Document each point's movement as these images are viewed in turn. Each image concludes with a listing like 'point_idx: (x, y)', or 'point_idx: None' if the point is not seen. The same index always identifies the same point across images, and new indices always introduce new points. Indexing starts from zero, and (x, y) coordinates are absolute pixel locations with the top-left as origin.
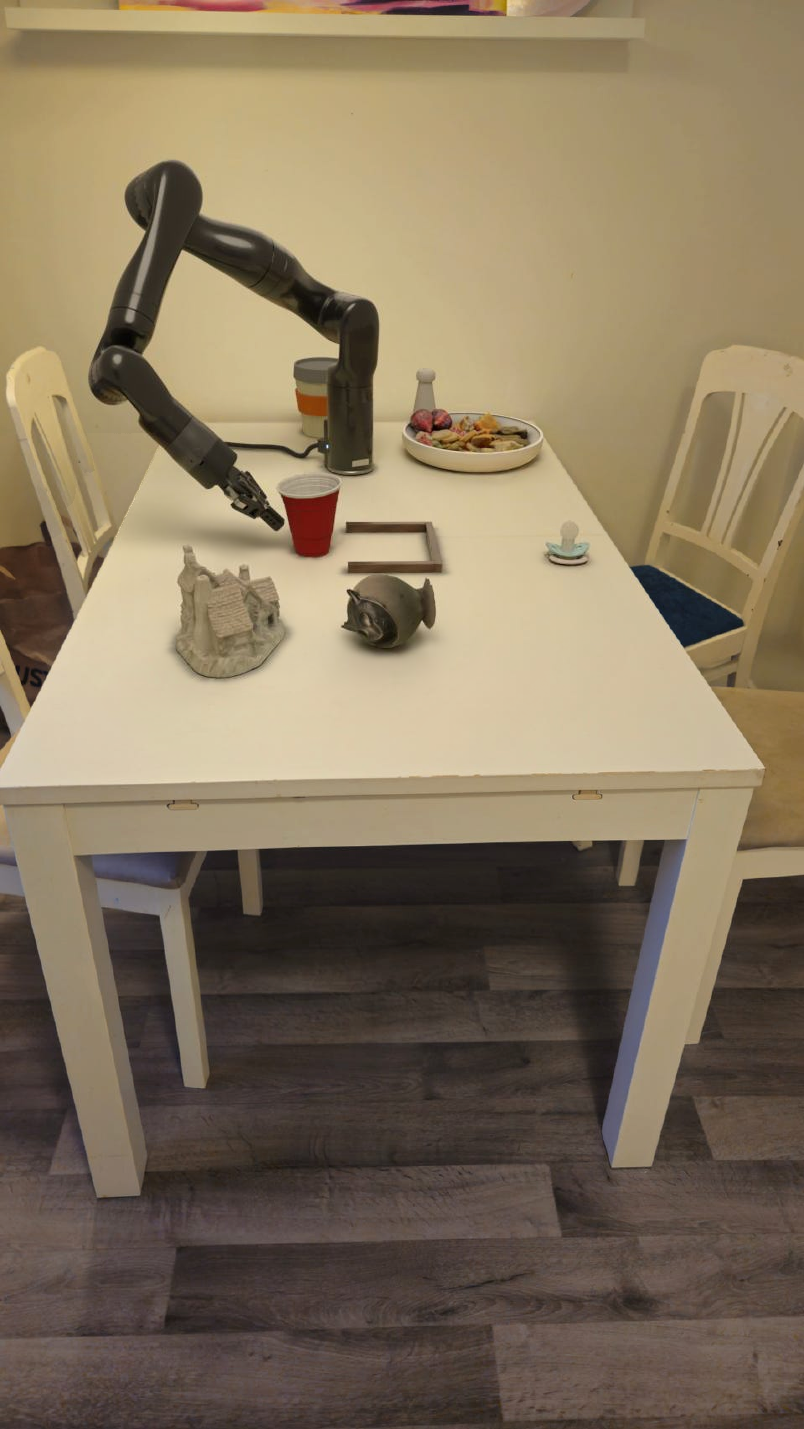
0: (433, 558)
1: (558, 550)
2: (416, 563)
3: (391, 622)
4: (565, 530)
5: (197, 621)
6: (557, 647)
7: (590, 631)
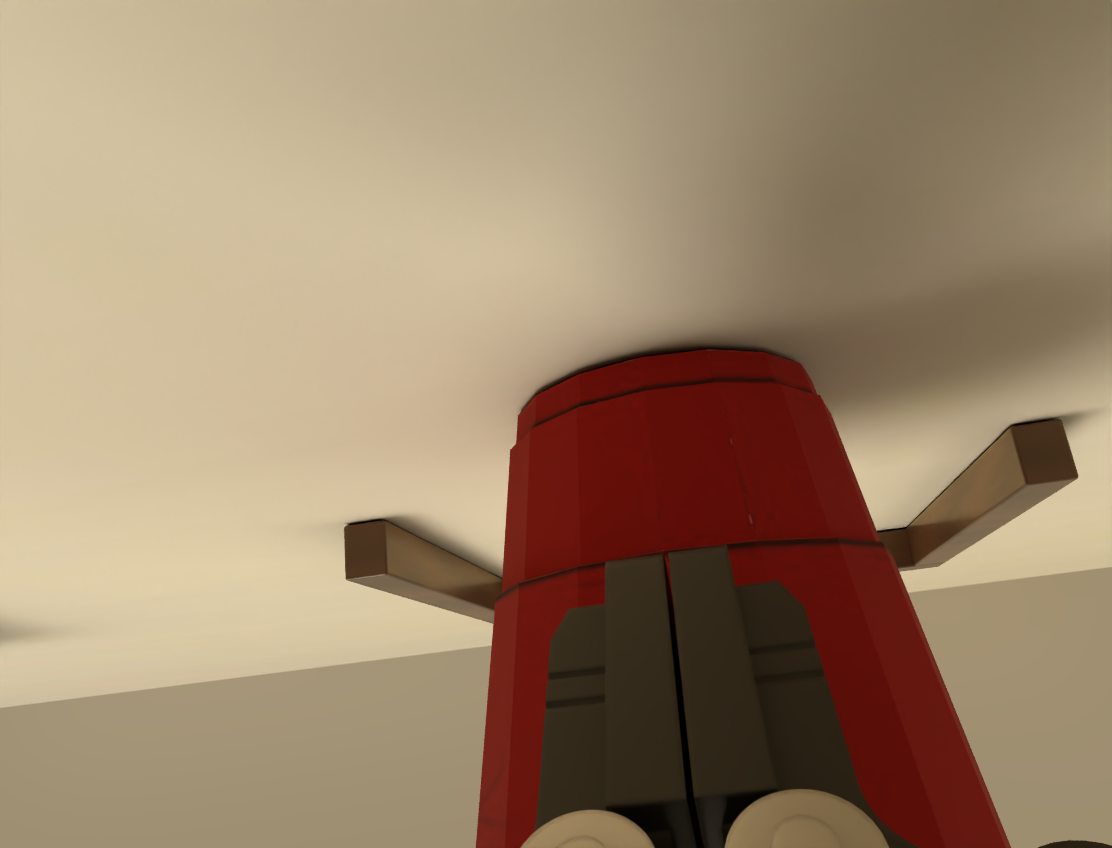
0: None
1: None
2: (468, 615)
3: None
4: None
5: None
6: (150, 666)
7: (266, 661)
